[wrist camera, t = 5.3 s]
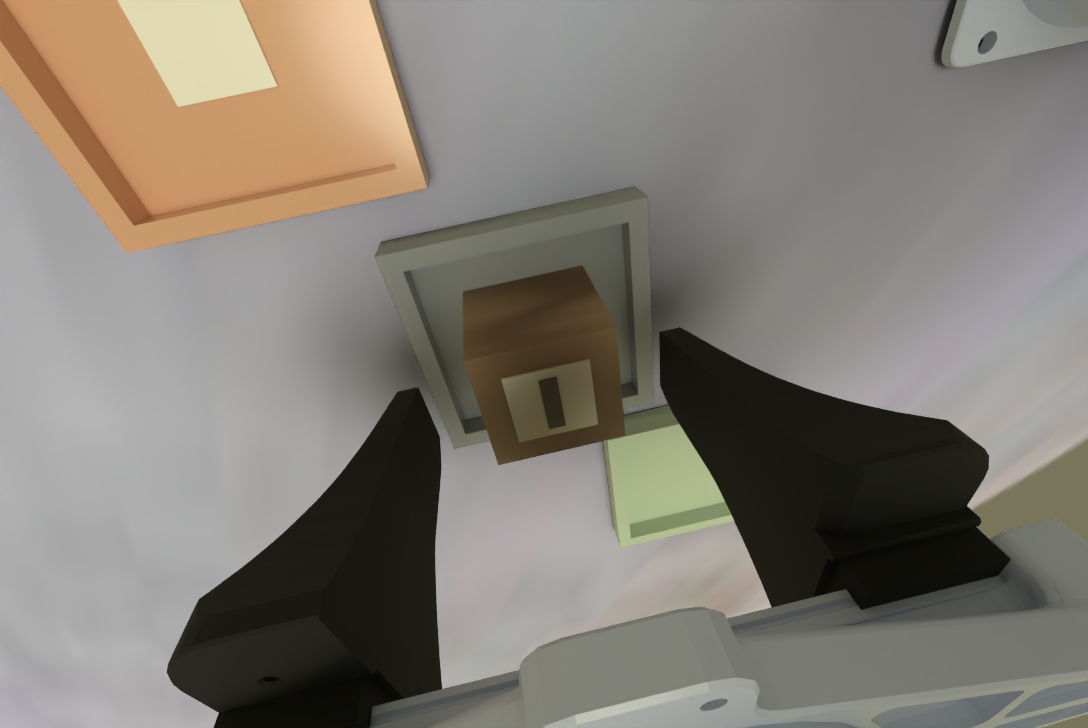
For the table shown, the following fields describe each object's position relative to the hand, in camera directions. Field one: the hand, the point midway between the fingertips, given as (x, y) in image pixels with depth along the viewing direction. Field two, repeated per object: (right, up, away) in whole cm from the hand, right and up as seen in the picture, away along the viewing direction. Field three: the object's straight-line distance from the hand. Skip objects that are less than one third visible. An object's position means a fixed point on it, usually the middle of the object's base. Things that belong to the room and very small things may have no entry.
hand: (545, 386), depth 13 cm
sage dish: (+7, -4, +9) cm, 12 cm away
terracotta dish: (-8, +8, -3) cm, 12 cm away
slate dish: (0, +2, +3) cm, 4 cm away
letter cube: (0, +2, +3) cm, 3 cm away
